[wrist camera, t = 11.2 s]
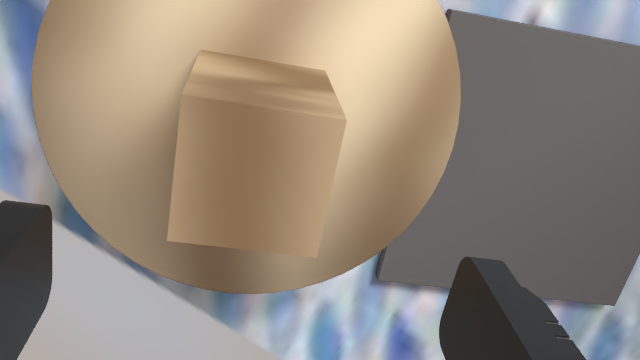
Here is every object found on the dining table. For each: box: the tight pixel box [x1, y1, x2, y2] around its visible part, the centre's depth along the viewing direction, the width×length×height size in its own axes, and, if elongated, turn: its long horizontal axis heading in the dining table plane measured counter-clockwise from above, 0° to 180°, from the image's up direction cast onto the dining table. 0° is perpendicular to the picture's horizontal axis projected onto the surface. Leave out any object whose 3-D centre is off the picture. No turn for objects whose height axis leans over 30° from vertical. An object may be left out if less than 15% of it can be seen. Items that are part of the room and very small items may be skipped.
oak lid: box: [31, 0, 461, 294], centre depth 17 cm, size 14×14×6 cm
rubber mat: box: [376, 9, 640, 306], centre depth 29 cm, size 14×14×1 cm
